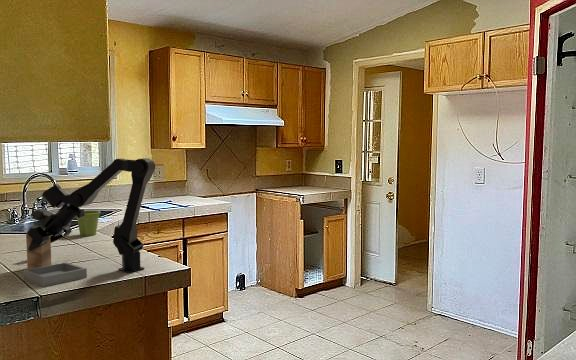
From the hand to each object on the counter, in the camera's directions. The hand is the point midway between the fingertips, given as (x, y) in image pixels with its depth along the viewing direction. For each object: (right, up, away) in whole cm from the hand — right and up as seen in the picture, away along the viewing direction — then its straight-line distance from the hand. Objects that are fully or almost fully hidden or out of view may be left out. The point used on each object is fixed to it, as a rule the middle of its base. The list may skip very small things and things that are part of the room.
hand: (35, 248), depth 175 cm
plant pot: (-8, -3, +66) cm, 66 cm away
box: (+14, -8, -14) cm, 21 cm away
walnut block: (+1, -7, 0) cm, 7 cm away
